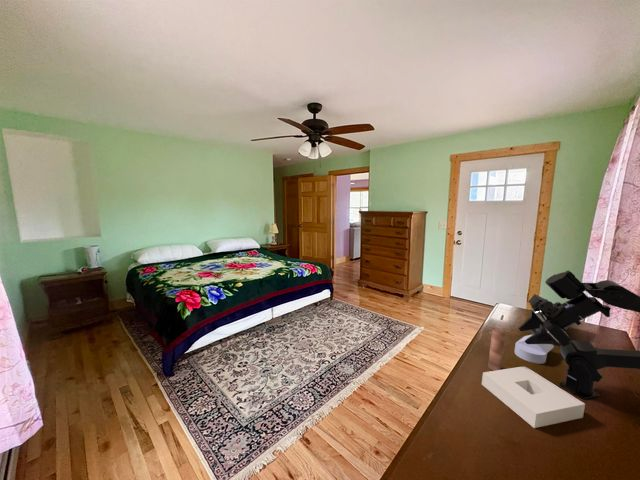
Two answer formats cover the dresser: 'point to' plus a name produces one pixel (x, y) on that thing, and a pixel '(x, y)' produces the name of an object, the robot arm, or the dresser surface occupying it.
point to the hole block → (533, 396)
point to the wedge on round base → (532, 351)
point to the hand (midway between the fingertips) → (522, 336)
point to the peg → (496, 350)
